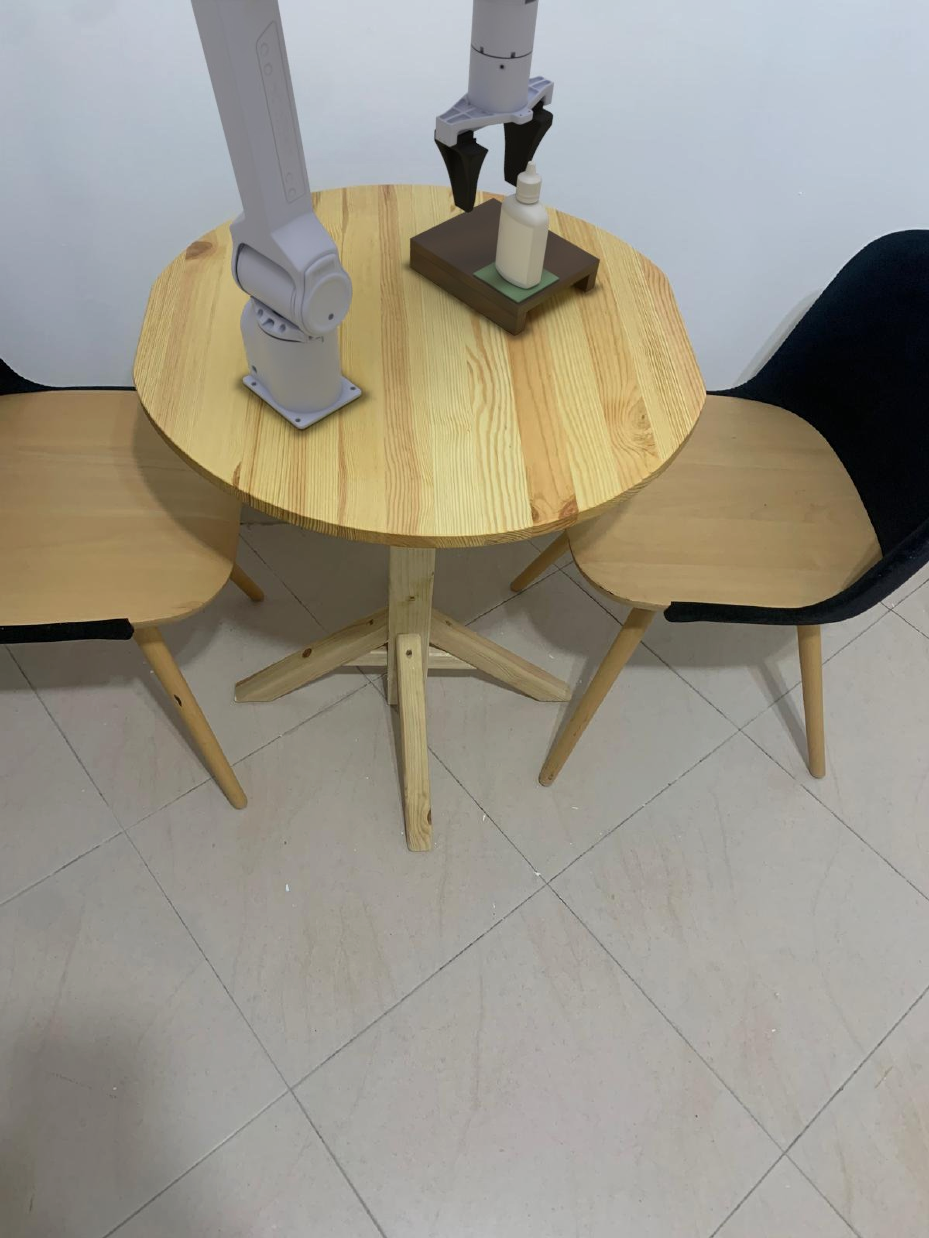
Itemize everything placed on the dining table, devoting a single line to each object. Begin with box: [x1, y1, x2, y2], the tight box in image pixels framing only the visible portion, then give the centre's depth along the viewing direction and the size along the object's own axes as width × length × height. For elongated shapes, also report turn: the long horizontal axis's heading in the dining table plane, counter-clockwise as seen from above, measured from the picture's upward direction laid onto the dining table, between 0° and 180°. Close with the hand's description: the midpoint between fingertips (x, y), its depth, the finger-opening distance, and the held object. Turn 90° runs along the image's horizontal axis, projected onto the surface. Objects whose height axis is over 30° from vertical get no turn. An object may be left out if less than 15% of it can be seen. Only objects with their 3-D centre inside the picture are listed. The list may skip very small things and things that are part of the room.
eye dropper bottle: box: [495, 160, 550, 289], centre depth 80 cm, size 4×6×12 cm
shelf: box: [409, 197, 601, 336], centre depth 90 cm, size 17×14×4 cm
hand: (488, 195), depth 82 cm, fingers open, 7 cm apart
